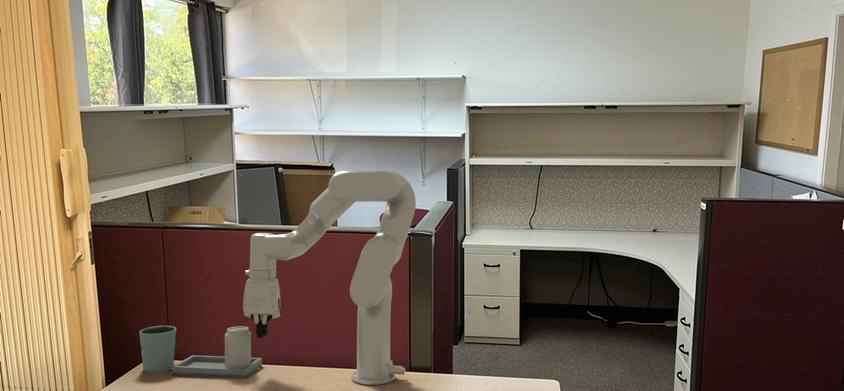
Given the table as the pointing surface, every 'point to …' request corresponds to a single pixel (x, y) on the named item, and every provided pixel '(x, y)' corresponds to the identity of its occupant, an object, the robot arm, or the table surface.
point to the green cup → (157, 348)
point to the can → (237, 347)
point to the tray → (213, 367)
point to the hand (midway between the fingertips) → (261, 336)
